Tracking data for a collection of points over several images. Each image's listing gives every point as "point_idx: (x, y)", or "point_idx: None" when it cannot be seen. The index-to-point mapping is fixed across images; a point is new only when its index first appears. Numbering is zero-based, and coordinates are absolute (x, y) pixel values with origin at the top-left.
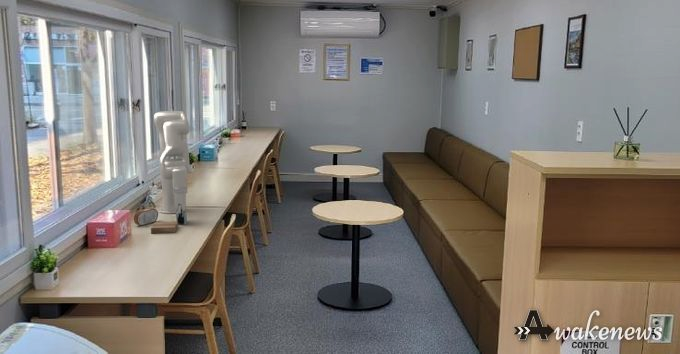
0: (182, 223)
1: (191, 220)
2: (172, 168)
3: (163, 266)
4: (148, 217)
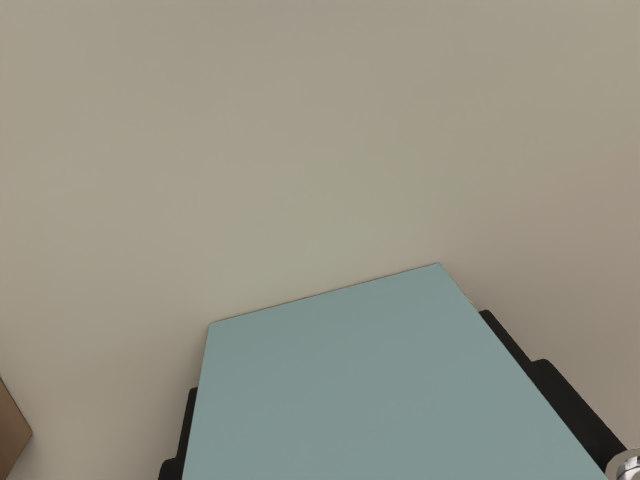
0: None
1: None
2: None
3: None
4: None
